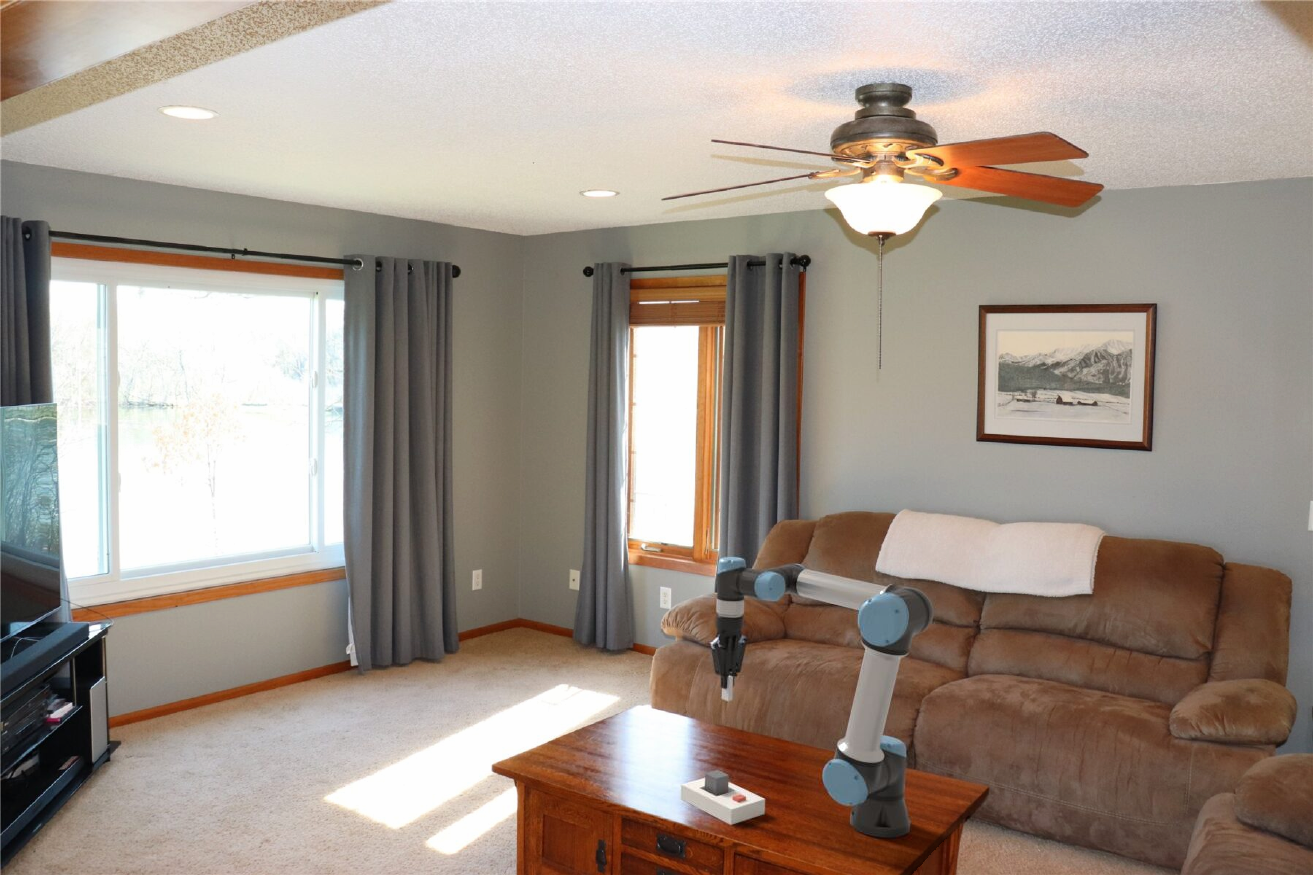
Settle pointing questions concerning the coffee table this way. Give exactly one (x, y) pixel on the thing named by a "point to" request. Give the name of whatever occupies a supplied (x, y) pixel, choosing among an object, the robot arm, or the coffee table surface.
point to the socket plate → (724, 802)
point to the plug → (716, 782)
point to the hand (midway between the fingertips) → (726, 699)
